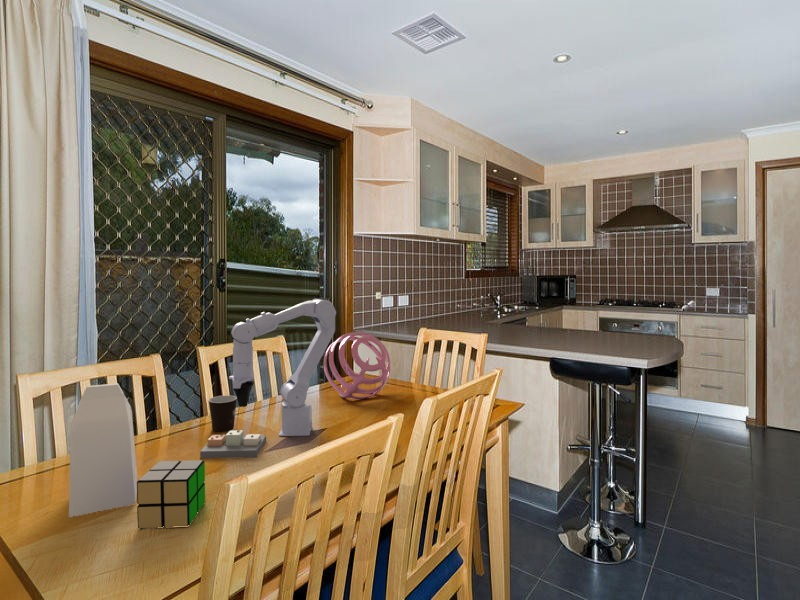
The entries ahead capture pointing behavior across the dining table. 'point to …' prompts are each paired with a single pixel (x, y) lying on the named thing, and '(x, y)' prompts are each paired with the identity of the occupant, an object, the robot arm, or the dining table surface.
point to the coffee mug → (222, 413)
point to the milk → (102, 452)
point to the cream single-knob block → (252, 439)
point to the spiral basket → (363, 365)
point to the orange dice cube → (217, 440)
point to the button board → (233, 450)
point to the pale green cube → (234, 438)
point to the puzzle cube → (171, 494)
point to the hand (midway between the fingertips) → (243, 406)
